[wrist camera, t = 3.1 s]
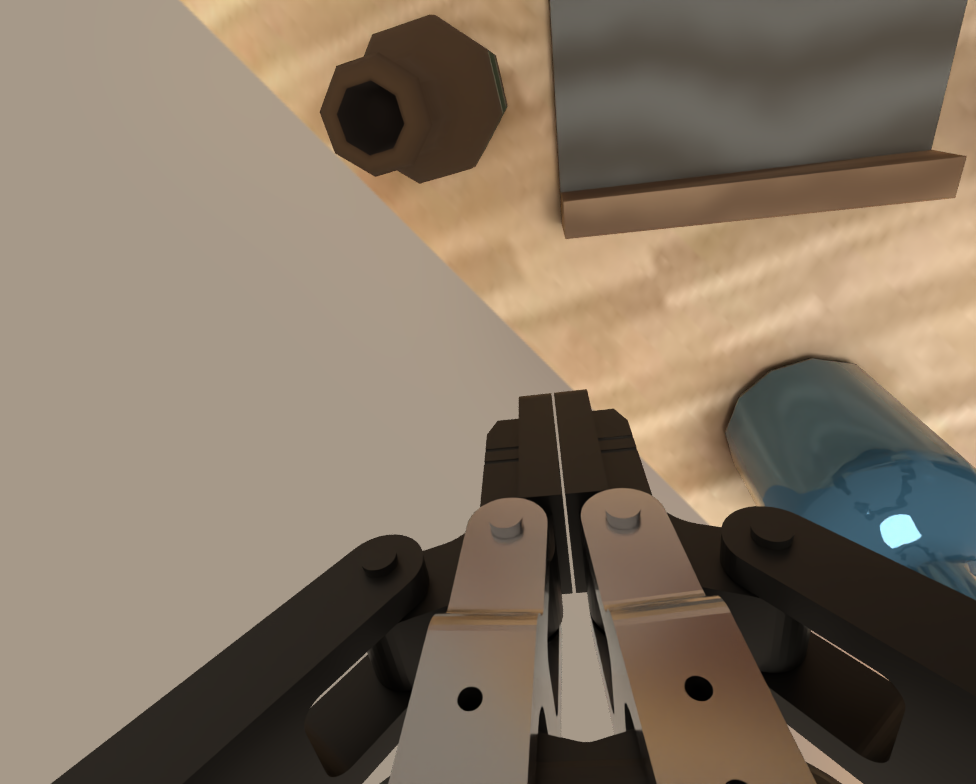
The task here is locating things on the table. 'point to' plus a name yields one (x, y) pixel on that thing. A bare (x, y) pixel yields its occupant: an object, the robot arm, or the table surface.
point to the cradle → (747, 108)
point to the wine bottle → (857, 467)
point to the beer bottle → (415, 102)
